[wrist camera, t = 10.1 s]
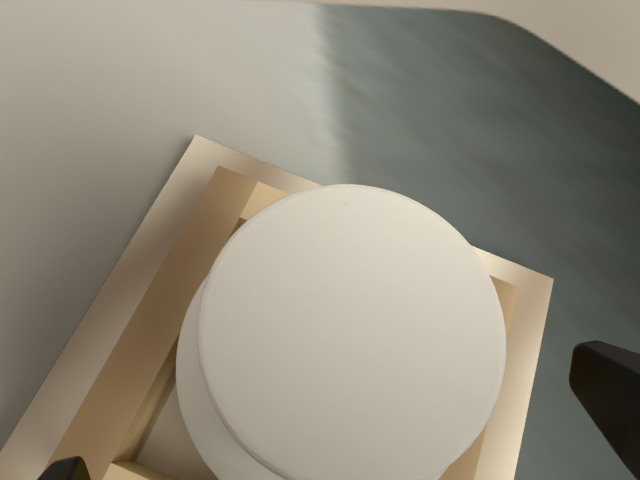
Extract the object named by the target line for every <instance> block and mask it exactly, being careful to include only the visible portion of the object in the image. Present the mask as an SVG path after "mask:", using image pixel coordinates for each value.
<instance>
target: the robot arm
mask: <svg viewBox="0 0 640 480" xmlns="http://www.w3.org/2000/svg"><path fill="white" fill-rule="evenodd" d="M569 383H570V387H571V389H572V391H573V393H574V394H575V396H576V397H577V399H578V400H579V401H580V403H581V404H582V406H583V407H584V409H585V410H586V411H587V413H588V414H589V416H590V417H591V419H592V420H593V421H594V423H595V424H596V426H597V427H598V429H599V430H600V431H601V433H602V434H603V436H604V437H605V439H606V440H607V441H608V443H609V444H610V446H611V447H612V449H613V450H614V451H615V453H616V454H617V455H618V457H619V458H620V459H621V461H622V462H623V463H624V465H625V466H626V467H627V468H628V470H629V471H630V472H631V473H632V474H633V476H634V477H635V478H636V479H637V480H640V354H638V353H635V352H632V351H629V350H626V349H623V348H619V347H616V346H613V345H610V344H607V343H604V342H601V341H589V342H584V343H580V344H577V345H576V346H575V347H574V349H573V353H572V360H571V367H570V374H569ZM37 480H91V478H90V475H89V472H88V469H87V466H86V463H85V461H84V459H83V458H82V457H80V456H73V457H69V458H64V459H60V460H56V461H54V462H53V463H51V464H50V465H49V466H48V467H47V469H46V470H45V471H44V472H43V473H42V474H41V475H40V476H39V477H38V479H37Z"/></svg>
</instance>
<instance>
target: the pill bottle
mask: <svg viewBox="0 0 640 480" xmlns="http://www.w3.org/2000/svg"><path fill="white" fill-rule="evenodd" d="M505 366H506V329H505V323H504V317H503V312H502V308H501V305H500V302H499V299H498V295H497V292H496V289H495V286H494V284H493V282H492V280H491V278H490V276H489V274H488V272H487V270H486V268H485V266H484V264H483V263H482V261H481V259H480V258H479V257H478V255H477V254H476V252H475V251H474V249H473V248H472V247H471V246H470V244H469V243H468V242H467V241H466V240H465V238H464V237H463V236H462V235H461V234H460V233H459V232H458V231H457V230H456V229H455V228H454V227H453V226H452V225H450V224H449V223H448V222H447V221H445V220H444V219H443V218H442V217H441V216H439V215H438V214H437V213H435V212H433V211H432V210H430V209H429V208H427V207H425V206H423V205H422V204H420V203H418V202H416V201H414V200H412V199H410V198H408V197H406V196H403V195H401V194H399V193H396V192H392V191H389V190H386V189H382V188H377V187H371V186H366V185H355V184H333V185H324V186H319V187H314V188H309V189H304V190H301V191H298V192H295V193H293V194H290V195H287V196H285V197H283V198H281V199H279V200H277V201H275V202H273V203H271V204H269V205H268V206H266V207H264V208H263V209H261V210H260V211H258V212H257V213H256V214H254V215H253V216H252V217H251V218H250V219H248V220H247V221H246V222H245V223H244V224H243V225H242V226H240V228H239V229H238V230H237V231H236V232H235V233H234V234H233V235H232V236H231V237H230V238H229V240H228V241H227V243H226V244H225V246H224V247H223V248H222V250H221V251H220V253H219V255H218V256H217V258H216V260H215V262H214V264H213V266H212V268H211V270H210V272H209V274H208V275H207V277H206V278H205V280H204V281H203V282H202V284H201V285H200V287H199V289H198V290H197V292H196V294H195V295H194V297H193V299H192V301H191V303H190V306H189V308H188V310H187V312H186V315H185V318H184V321H183V324H182V327H181V331H180V335H179V341H178V347H177V355H176V386H177V395H178V400H179V405H180V409H181V413H182V417H183V420H184V422H185V425H186V428H187V430H188V433H189V435H190V437H191V439H192V441H193V443H194V445H195V447H196V449H197V450H198V452H199V454H200V455H201V457H202V458H203V460H204V462H205V463H206V464H207V465H208V467H209V468H210V469H211V470H212V472H213V473H214V474H215V475H216V477H217V478H218V479H219V480H438V479H439V478H440V477H441V476H442V474H443V473H444V472H445V470H446V469H447V468H448V467H449V466H450V465H451V464H452V463H453V462H455V461H456V460H457V459H458V458H459V457H460V456H461V455H462V454H463V453H464V452H465V451H466V450H467V449H468V448H469V447H470V446H471V445H472V443H473V442H474V441H475V440H476V438H477V437H478V436H479V434H480V433H481V432H482V430H483V429H484V427H485V425H486V423H487V422H488V420H489V418H490V416H491V414H492V411H493V409H494V407H495V404H496V402H497V400H498V397H499V393H500V390H501V387H502V382H503V377H504V371H505Z"/></svg>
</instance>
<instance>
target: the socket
mask: <svg viewBox="0 0 640 480" xmlns="http://www.w3.org/2000/svg"><path fill="white" fill-rule="evenodd" d="M319 186H322V185H320V184H317V183H315V182H312V181H310V180H307V179H305V178H302V177H300V176H297V175H295V174H292V173H290V172H287V171H285V170H282V169H280V168H277V167H275V166H273V165H270V164H268V163H265V162H263V161H260V160H258V159H255V158H253V157H250V156H248V155H245V154H243V153H240V152H238V151H235V150H233V149H230V148H228V147H225V146H223V145H220V144H218V143H215V142H213V141H211V140H208V139H206V138H203V137H201V136H198V135H195V137H194V138H193V140H192V142H191V143H190V145H189V147H188V148H187V150H186V151H185V153H184V155H183V156H182V158H181V160H180V161H179V163H178V164H177V166H176V168H175V169H174V171H173V173H172V174H171V176H170V177H169V179H168V181H167V182H166V184H165V186H164V187H163V189H162V190H161V192H160V194H159V195H158V197H157V199H156V200H155V202H154V203H153V205H152V207H151V208H150V210H149V212H148V213H147V215H146V216H145V218H144V220H143V221H142V223H141V224H140V226H139V228H138V229H137V231H136V233H135V234H134V236H133V237H132V239H131V241H130V242H129V244H128V246H127V247H126V249H125V250H124V252H123V254H122V255H121V257H120V259H119V260H118V262H117V263H116V265H115V267H114V268H113V270H112V272H111V273H110V275H109V276H108V278H107V280H106V281H105V283H104V285H103V286H102V288H101V289H100V291H99V293H98V294H97V296H96V298H95V299H94V301H93V302H92V304H91V306H90V307H89V309H88V311H87V312H86V314H85V315H84V317H83V319H82V320H81V322H80V324H79V325H78V327H77V328H76V330H75V332H74V333H73V335H72V337H71V338H70V340H69V341H68V343H67V345H66V346H65V348H64V349H63V351H62V353H61V354H60V356H59V358H58V359H57V361H56V362H55V364H54V366H53V367H52V369H51V371H50V372H49V374H48V375H47V377H46V379H45V380H44V382H43V384H42V385H41V387H40V388H39V390H38V392H37V393H36V395H35V397H34V398H33V400H32V401H31V403H30V405H29V406H28V408H27V410H26V411H25V413H24V414H23V416H22V418H21V419H20V421H19V423H18V424H17V426H16V427H15V429H14V431H13V432H12V434H11V436H10V437H9V439H8V440H7V442H6V444H5V445H4V447H3V449H2V450H1V452H0V480H37V479H38V477H39V476H40V475H41V474H42V473H43V472H44V471H45V470H46V469H47V467H48V466H49V465H50V464H51V463H53V462H54V461H56V460H60V459H64V458H69V457H73V456H80V457H82V458H83V459H84V461H85V463H86V466H87V469H88V472H89V475H90V478H91V480H219V479H218V478H217V477H216V475H215V474H214V473H213V472H212V470H211V469H210V468H209V467H208V465H207V464H206V463H205V462H204V460H203V458H202V457H201V455H200V454H199V452H198V450H197V449H196V447H195V445H194V443H193V441H192V439H191V437H190V435H189V433H188V430H187V428H186V425H185V422H184V420H183V417H182V413H181V409H180V405H179V400H178V395H177V386H176V355H177V347H178V341H179V335H180V331H181V327H182V324H183V321H184V318H185V315H186V312H187V310H188V308H189V306H190V303H191V301H192V299H193V297H194V295H195V294H196V292H197V290H198V289H199V287H200V285H201V284H202V282H203V281H204V280H205V278H206V277H207V275H208V274H209V272H210V270H211V268H212V266H213V264H214V262H215V260H216V258H217V256H218V255H219V253H220V251H221V250H222V248H223V247H224V246H225V244H226V243H227V241H228V240H229V238H230V237H231V236H232V235H233V234H234V233H235V232H236V231H237V230H238V229H239V228H240V226H242V225H243V224H244V223H245V222H246V221H247V220H248V219H250V218H251V217H252V216H253V215H254V214H256V213H257V212H258V211H260V210H261V209H263V208H264V207H266V206H268V205H269V204H271V203H273V202H275V201H277V200H279V199H281V198H283V197H285V196H287V195H290V194H293V193H295V192H298V191H301V190H304V189H309V188H314V187H319ZM470 246H471V245H470ZM471 247H472V248H473V249H474V251H475V252H476V254H477V255H478V257H479V258H480V259H481V261H482V263H483V264H484V266H485V268H486V270H487V272H488V274H489V276H490V278H491V280H492V282H493V284H494V286H495V289H496V292H497V295H498V299H499V302H500V305H501V308H502V312H503V317H504V323H505V329H506V366H505V371H504V377H503V382H502V387H501V390H500V393H499V397H498V400H497V402H496V404H495V407H494V409H493V411H492V414H491V416H490V418H489V420H488V422H487V423H486V425H485V427H484V429H483V430H482V432H481V433H480V434H479V436H478V437H477V438H476V440H475V441H474V442H473V443H472V445H471V446H470V447H469V448H468V449H467V450H466V451H465V452H464V453H463V454H462V455H461V456H460V457H459V458H458V459H457V460H456V461H455V462H453V463H452V464H451V465H450V466H449V467H448V468H447V469H446V470H445V472H444V473H443V474H442V476H441V477H440V478H439V479H438V480H514V475H515V470H516V465H517V460H518V455H519V450H520V445H521V440H522V435H523V430H524V425H525V420H526V415H527V410H528V405H529V400H530V395H531V390H532V385H533V380H534V375H535V370H536V365H537V360H538V355H539V350H540V345H541V340H542V335H543V330H544V325H545V320H546V315H547V310H548V305H549V300H550V295H551V290H552V285H553V280H554V279H553V278H550V277H548V276H545V275H543V274H540V273H538V272H535V271H533V270H530V269H528V268H525V267H523V266H520V265H518V264H515V263H513V262H510V261H508V260H506V259H503V258H501V257H498V256H496V255H493V254H491V253H488V252H486V251H483V250H481V249H478V248H476V247H473V246H471Z"/></svg>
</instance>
